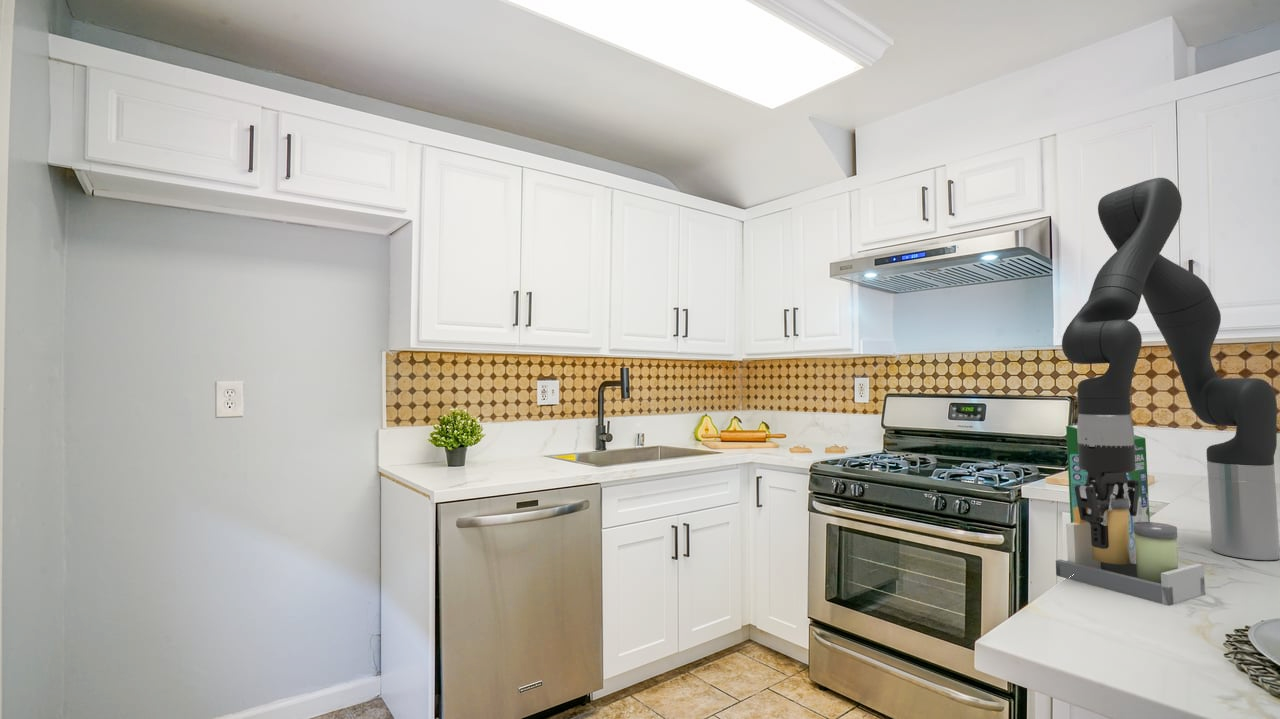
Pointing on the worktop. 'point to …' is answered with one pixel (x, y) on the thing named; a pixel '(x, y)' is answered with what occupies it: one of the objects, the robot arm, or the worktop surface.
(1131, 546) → the milk carton
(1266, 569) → the worktop surface
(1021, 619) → the worktop surface
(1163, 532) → the green jar
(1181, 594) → the grey tray
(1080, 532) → the block
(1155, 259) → the robot arm
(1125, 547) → the amber jar
